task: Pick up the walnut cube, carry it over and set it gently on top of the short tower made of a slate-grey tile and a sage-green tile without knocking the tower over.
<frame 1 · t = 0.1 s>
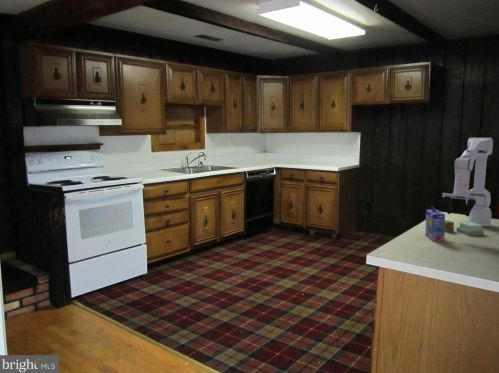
hand: (458, 215, 182), 10 cm above the table, tool pointing down, fingers open, 7 cm apart
top tile: (470, 229, 191), point 2 cm above the table, touching base tile
ink cartridge box: (434, 238, 184), on the table
walnut cube: (446, 230, 196), on the table
base tile: (469, 234, 191), on the table, touching top tile
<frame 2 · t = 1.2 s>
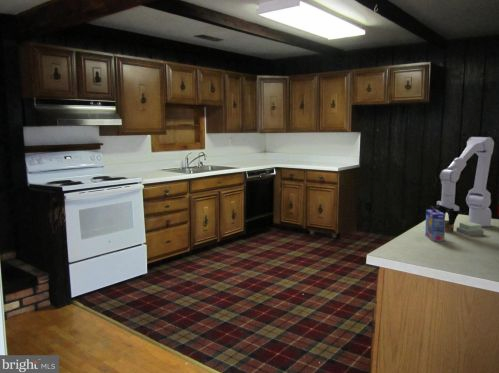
hand: (446, 222, 195), 4 cm above the table, tool pointing down, fingers open, 7 cm apart
nothing on the table moved.
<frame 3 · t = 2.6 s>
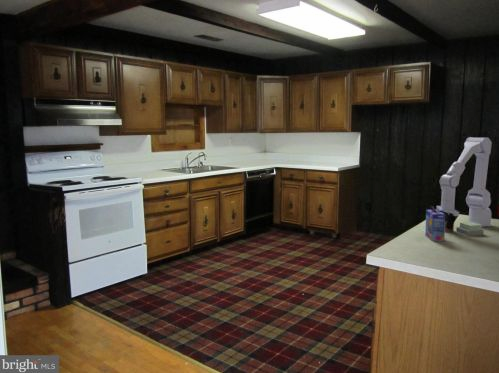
hand: (446, 227, 196), 1 cm above the table, tool pointing down, fingers closed on walnut cube, 4 cm apart
walnut cube: (446, 230, 196), on the table, touching gripper
everything else where it was.
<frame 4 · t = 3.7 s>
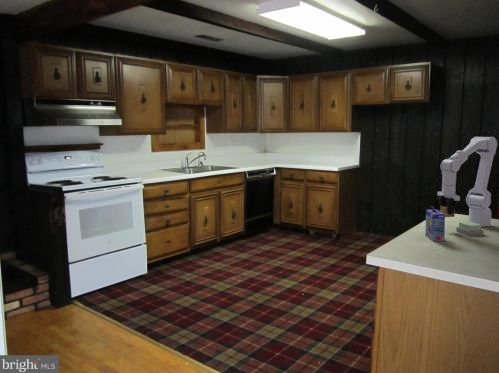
hand: (447, 212, 195), 9 cm above the table, tool pointing down, fingers closed on walnut cube, 4 cm apart
walnut cube: (447, 215, 195), point 7 cm above the table, touching gripper
everything else where it was.
when the fingers open (8 cm above the table, at t = 5.8 s): walnut cube drops 2 cm, point 4 cm above the table.
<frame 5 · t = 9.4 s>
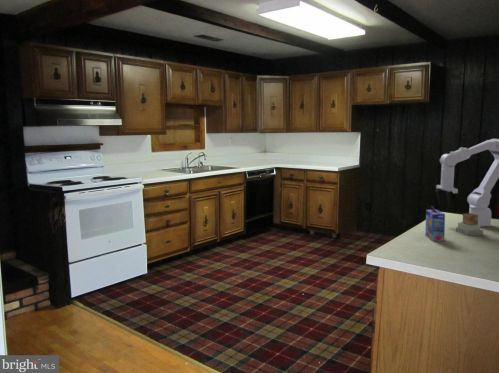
hand: (445, 205, 204), 10 cm above the table, tool pointing down, fingers open, 7 cm apart
walnut cube: (470, 223, 190), point 4 cm above the table
everything else where it was.
at the end: walnut cube 0.5 cm off-centre on the top tile, point 2.6 cm above the top tile's base; top tile moved 0.8 cm from its start; walnut cube tilted 2° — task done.
